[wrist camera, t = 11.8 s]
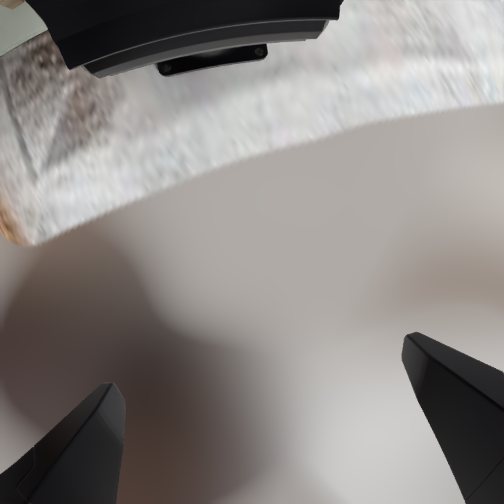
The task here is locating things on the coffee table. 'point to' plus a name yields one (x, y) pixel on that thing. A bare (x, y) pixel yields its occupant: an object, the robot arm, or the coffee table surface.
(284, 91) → the coffee table surface
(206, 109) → the coffee table surface
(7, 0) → the stool
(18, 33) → the mat
